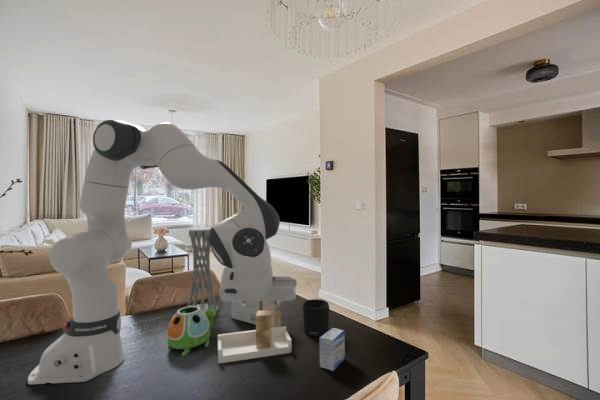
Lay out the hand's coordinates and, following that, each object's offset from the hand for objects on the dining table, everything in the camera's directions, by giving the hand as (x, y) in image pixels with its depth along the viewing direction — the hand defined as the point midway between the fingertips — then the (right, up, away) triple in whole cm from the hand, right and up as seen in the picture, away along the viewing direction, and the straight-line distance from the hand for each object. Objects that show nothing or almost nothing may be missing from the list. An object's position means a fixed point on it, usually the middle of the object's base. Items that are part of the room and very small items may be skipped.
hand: (260, 303), depth 88 cm
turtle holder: (-24, -18, +14) cm, 34 cm away
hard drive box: (-8, -18, +34) cm, 39 cm away
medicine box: (+21, -18, +2) cm, 28 cm away
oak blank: (0, -16, +9) cm, 18 cm away
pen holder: (+17, -18, +23) cm, 33 cm away
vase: (-30, -18, +43) cm, 55 cm away
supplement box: (+1, -18, +23) cm, 30 cm away
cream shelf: (-3, -18, +9) cm, 20 cm away
